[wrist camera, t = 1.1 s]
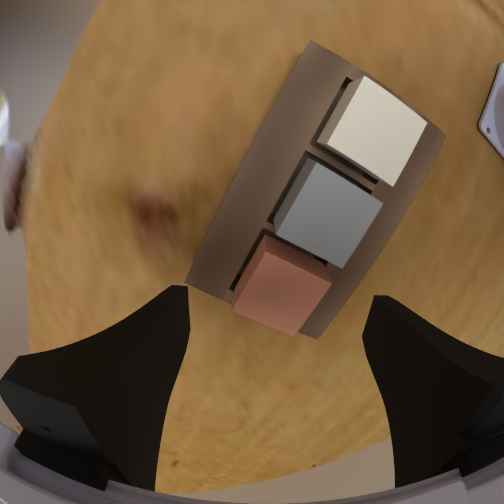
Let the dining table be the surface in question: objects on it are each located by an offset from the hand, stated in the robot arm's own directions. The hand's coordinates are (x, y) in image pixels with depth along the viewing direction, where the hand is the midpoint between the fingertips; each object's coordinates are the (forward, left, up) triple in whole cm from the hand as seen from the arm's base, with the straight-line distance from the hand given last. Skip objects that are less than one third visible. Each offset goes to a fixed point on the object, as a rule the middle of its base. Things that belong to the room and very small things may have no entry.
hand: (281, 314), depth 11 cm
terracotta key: (-1, +2, -7) cm, 7 cm away
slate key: (-1, -3, -7) cm, 8 cm away
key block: (-1, -3, -10) cm, 11 cm away
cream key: (-1, -8, -7) cm, 11 cm away
